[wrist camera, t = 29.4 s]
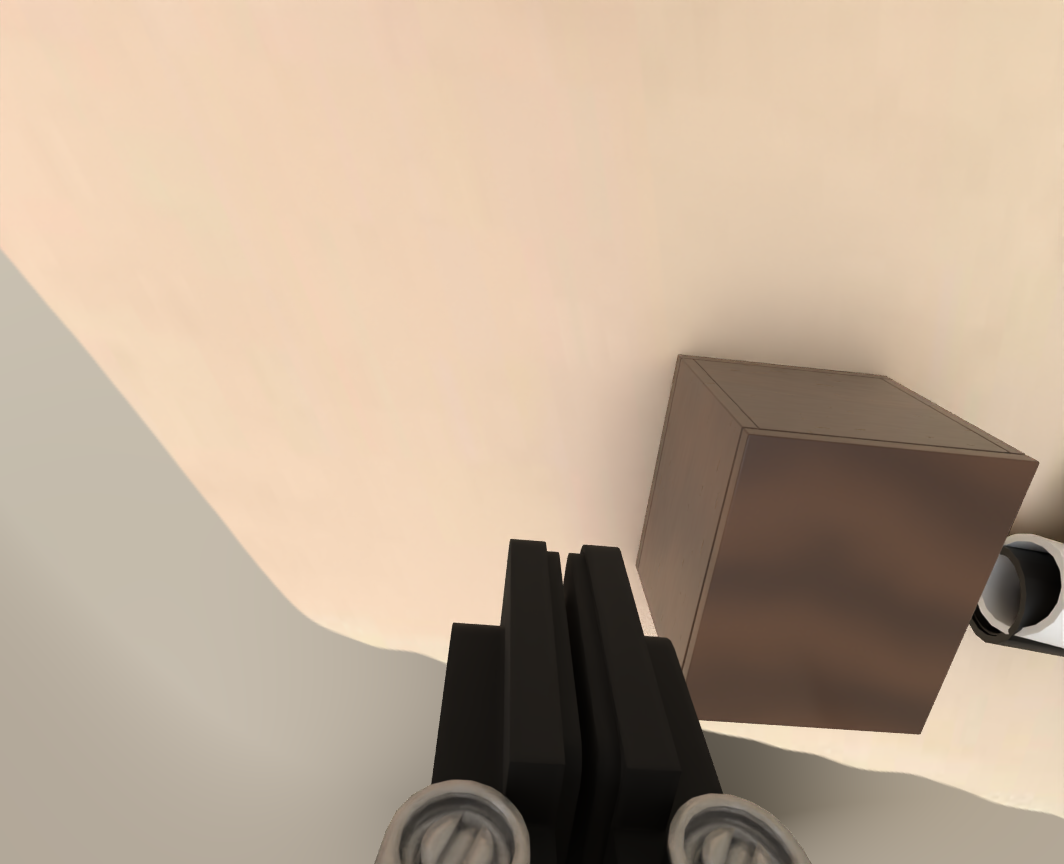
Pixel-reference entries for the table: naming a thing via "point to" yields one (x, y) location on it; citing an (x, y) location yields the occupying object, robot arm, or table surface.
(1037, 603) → the curved black white bar
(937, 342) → the table surface
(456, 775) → the robot arm
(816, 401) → the chest
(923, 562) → the lid
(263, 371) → the table surface
